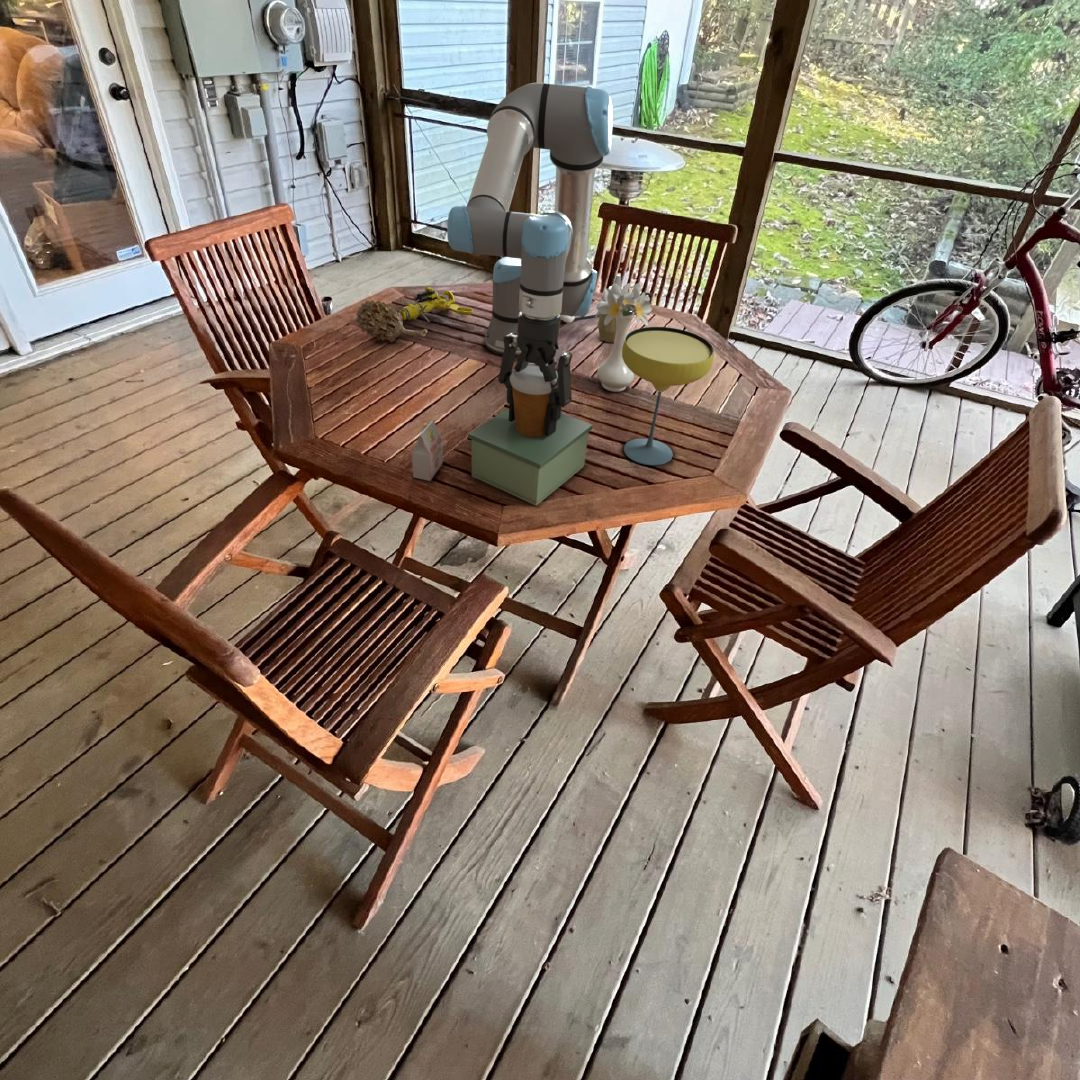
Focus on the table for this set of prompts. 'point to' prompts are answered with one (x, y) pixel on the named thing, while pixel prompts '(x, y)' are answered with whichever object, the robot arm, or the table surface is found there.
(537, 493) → the green lidded box
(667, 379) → the cocktail glass
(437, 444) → the white gable carton
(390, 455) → the table surface
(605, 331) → the squeeze bottle
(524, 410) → the disposable coffee cup
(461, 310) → the sprinkler
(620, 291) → the flower vase
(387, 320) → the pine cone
